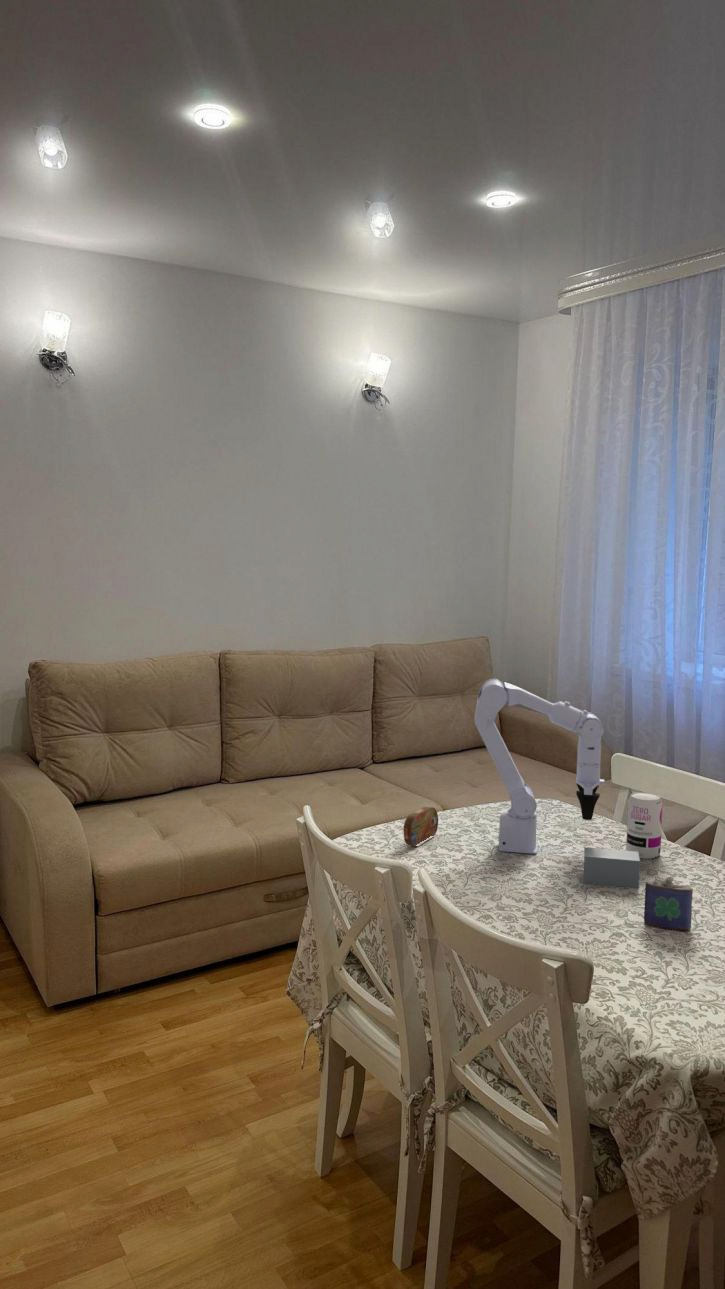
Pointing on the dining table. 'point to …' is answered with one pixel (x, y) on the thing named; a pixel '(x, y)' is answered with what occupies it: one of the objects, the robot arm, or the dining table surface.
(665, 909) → the flask
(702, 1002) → the dining table surface
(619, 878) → the grey rectangular prism
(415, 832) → the tin
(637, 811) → the supplement can
